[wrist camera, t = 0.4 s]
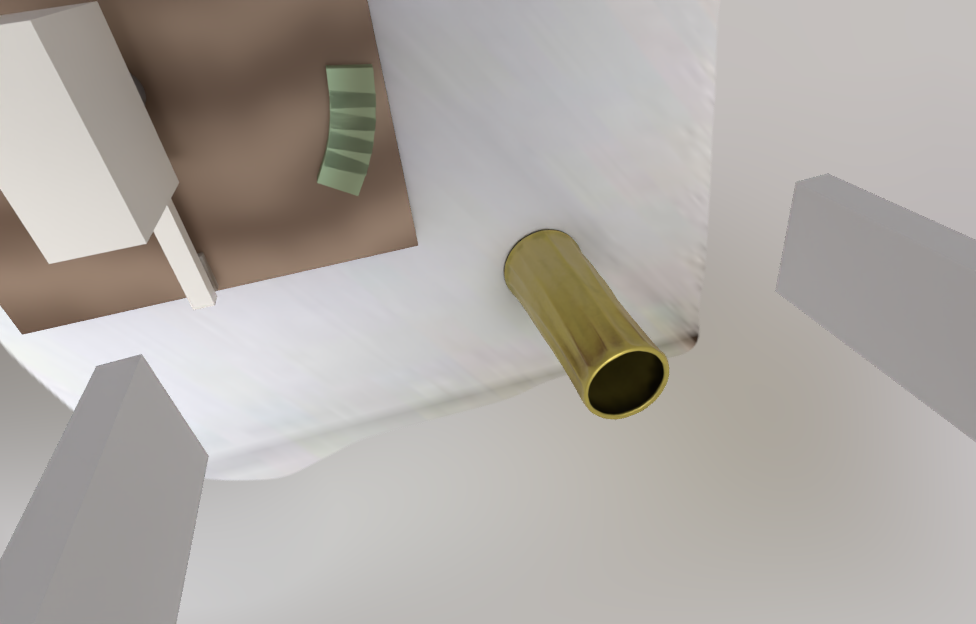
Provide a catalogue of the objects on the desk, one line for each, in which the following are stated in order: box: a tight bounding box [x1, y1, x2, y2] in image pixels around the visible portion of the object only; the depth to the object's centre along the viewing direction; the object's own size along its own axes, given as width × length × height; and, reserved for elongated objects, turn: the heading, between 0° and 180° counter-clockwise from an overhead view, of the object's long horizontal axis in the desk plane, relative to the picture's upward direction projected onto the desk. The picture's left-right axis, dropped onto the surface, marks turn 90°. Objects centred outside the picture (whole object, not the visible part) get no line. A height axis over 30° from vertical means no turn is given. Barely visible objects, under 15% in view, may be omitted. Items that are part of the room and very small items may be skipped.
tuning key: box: [0, 1, 217, 310], centre depth 26 cm, size 16×4×10 cm, turn 7°
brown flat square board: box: [0, 0, 418, 334], centre depth 29 cm, size 24×24×3 cm
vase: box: [504, 230, 669, 419], centre depth 37 cm, size 6×6×14 cm
